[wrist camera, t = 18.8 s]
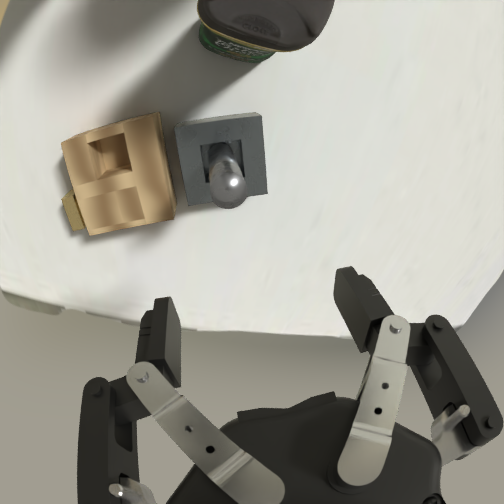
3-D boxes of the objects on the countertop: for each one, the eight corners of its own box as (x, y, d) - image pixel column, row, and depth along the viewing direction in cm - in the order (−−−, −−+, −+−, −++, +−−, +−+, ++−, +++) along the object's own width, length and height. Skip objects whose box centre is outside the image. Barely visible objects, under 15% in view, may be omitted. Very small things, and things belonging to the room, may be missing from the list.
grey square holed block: (177, 123, 33) (174, 127, 29) (255, 112, 33) (261, 115, 30) (189, 194, 38) (188, 205, 35) (261, 183, 39) (267, 193, 36)
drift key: (70, 190, 34) (61, 199, 32) (118, 177, 35) (111, 185, 32) (80, 220, 37) (73, 231, 34) (127, 209, 38) (121, 220, 35)
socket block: (100, 218, 38) (89, 235, 34) (76, 134, 30) (60, 143, 26) (176, 203, 39) (173, 219, 35) (159, 111, 31) (152, 115, 27)
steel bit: (206, 145, 34) (207, 177, 23) (231, 141, 34) (245, 171, 24) (210, 169, 36) (213, 211, 25) (234, 165, 36) (249, 205, 25)
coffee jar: (191, 50, 28) (178, 16, 12) (213, -2, 24) (224, -70, 8) (265, 71, 31) (322, 63, 15) (286, 21, 27) (356, -20, 11)
